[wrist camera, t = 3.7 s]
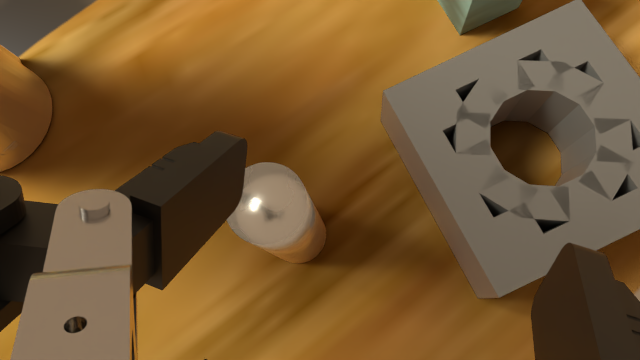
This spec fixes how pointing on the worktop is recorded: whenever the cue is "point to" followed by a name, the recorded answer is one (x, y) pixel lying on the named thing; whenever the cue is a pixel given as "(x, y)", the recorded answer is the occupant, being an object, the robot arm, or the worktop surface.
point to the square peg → (475, 11)
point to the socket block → (541, 111)
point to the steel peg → (278, 214)
